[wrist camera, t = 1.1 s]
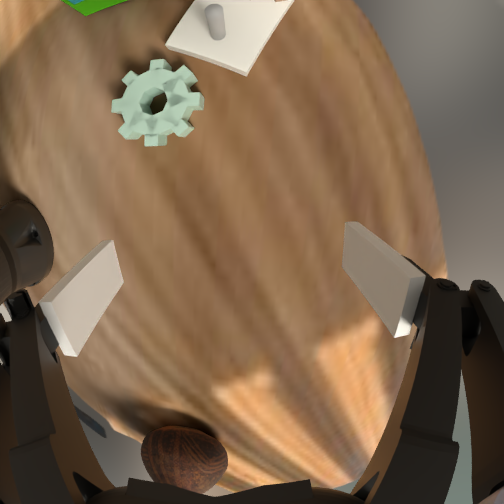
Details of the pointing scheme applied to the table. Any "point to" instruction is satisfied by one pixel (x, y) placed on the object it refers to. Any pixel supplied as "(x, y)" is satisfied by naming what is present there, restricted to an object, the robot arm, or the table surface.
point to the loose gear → (142, 95)
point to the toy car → (91, 5)
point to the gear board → (227, 31)
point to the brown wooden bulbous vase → (184, 458)
